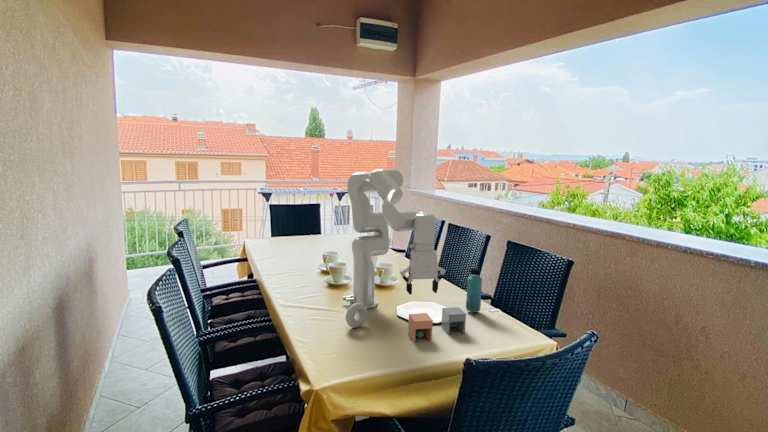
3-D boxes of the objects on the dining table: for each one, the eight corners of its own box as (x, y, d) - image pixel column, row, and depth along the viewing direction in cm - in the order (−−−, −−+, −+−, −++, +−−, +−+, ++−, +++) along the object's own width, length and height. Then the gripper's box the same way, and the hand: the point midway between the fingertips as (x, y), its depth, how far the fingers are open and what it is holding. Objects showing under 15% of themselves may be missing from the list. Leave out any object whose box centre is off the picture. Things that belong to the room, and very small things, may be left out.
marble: (417, 339, 149) (417, 331, 148) (414, 336, 151) (415, 328, 151) (424, 338, 149) (425, 331, 149) (422, 335, 152) (422, 327, 152)
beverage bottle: (481, 310, 179) (483, 267, 176) (479, 316, 172) (482, 271, 170) (466, 308, 181) (468, 265, 178) (464, 314, 174) (466, 269, 172)
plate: (396, 303, 186) (396, 300, 185) (447, 305, 185) (447, 302, 185) (396, 324, 162) (396, 321, 162) (455, 327, 162) (455, 323, 161)
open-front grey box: (447, 334, 153) (449, 314, 152) (441, 327, 160) (442, 308, 159) (464, 333, 155) (466, 313, 154) (457, 325, 162) (458, 307, 161)
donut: (348, 332, 153) (349, 307, 152) (343, 329, 156) (343, 304, 154) (369, 325, 160) (369, 301, 159) (363, 322, 162) (364, 299, 161)
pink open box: (413, 342, 146) (414, 321, 145) (408, 334, 153) (409, 314, 152) (431, 340, 148) (432, 320, 147) (425, 332, 154) (426, 313, 153)
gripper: (403, 250, 140) (402, 297, 142) (449, 248, 144) (447, 294, 146) (398, 245, 147) (396, 290, 149) (442, 244, 151) (440, 288, 153)
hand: (422, 292), depth 148 cm, fingers open, 9 cm apart
